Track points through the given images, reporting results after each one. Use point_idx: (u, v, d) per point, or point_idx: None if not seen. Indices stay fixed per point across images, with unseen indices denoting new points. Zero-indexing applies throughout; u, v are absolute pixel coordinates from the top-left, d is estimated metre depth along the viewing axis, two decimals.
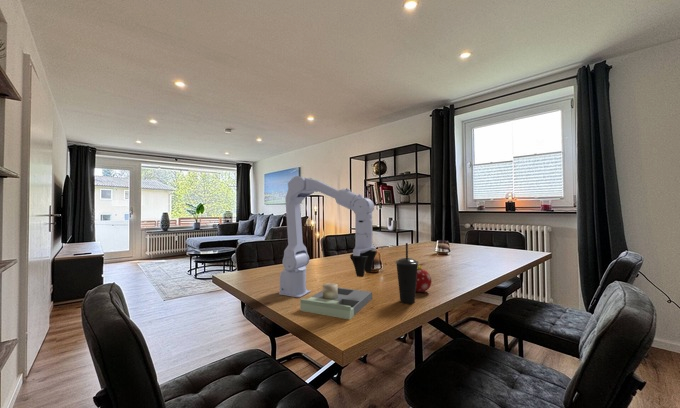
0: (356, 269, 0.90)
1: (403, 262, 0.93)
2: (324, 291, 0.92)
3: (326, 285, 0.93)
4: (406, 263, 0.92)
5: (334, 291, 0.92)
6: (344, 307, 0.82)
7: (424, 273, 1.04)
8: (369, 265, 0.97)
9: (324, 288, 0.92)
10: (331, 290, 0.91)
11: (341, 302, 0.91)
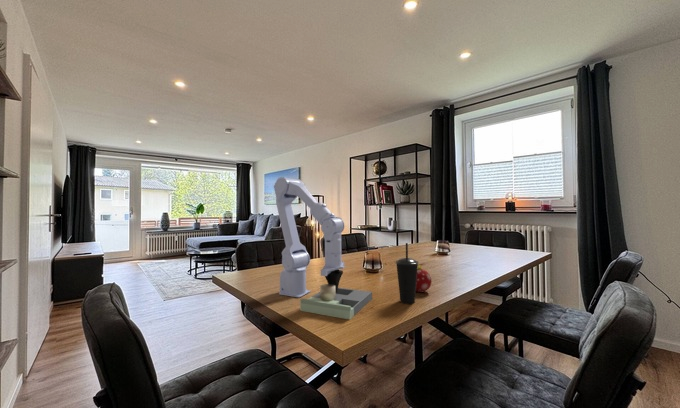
0: None
1: (403, 262, 0.93)
2: (321, 292, 0.91)
3: (324, 286, 0.92)
4: (406, 263, 0.92)
5: (331, 292, 0.90)
6: (344, 307, 0.82)
7: (424, 273, 1.04)
8: (335, 286, 0.96)
9: (321, 289, 0.91)
10: (328, 291, 0.90)
11: (341, 302, 0.91)
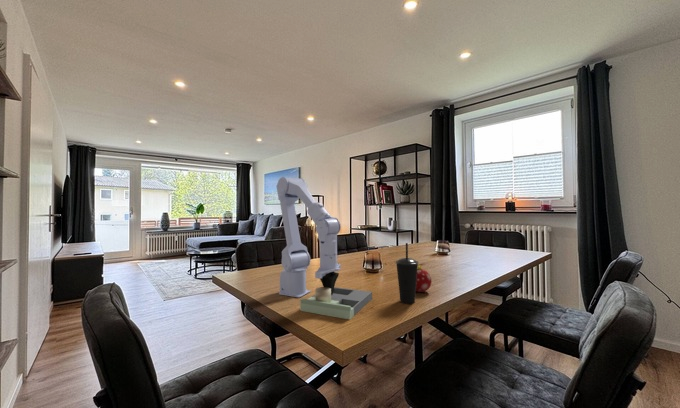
0: None
1: (403, 262, 0.93)
2: (317, 295, 0.88)
3: (319, 289, 0.89)
4: (406, 263, 0.92)
5: (327, 296, 0.87)
6: (344, 307, 0.82)
7: (424, 273, 1.04)
8: None
9: (317, 292, 0.88)
10: (324, 294, 0.87)
11: (341, 302, 0.91)
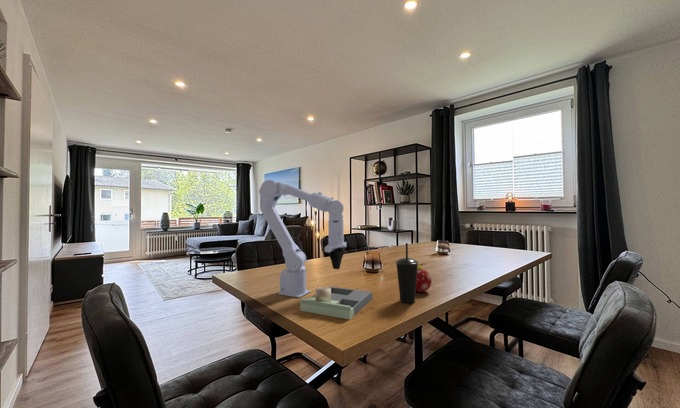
0: (332, 262, 1.04)
1: (403, 262, 0.93)
2: (317, 295, 0.88)
3: (319, 289, 0.89)
4: (406, 263, 0.92)
5: (327, 296, 0.87)
6: (344, 307, 0.82)
7: (424, 273, 1.04)
8: None
9: (317, 292, 0.88)
10: (324, 294, 0.87)
11: (341, 302, 0.91)
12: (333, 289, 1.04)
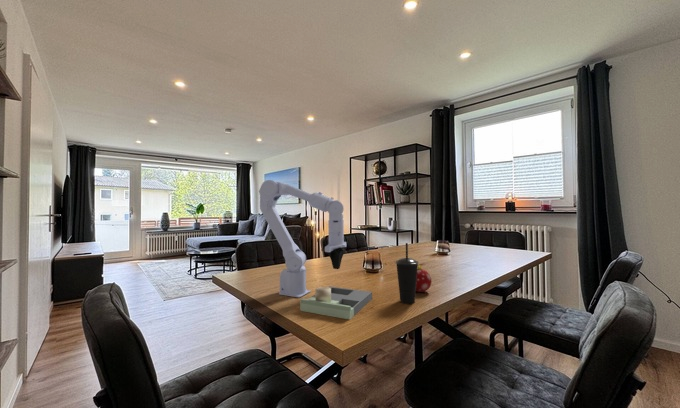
0: (332, 262, 1.05)
1: (403, 262, 0.93)
2: (317, 295, 0.88)
3: (319, 289, 0.89)
4: (406, 263, 0.92)
5: (327, 296, 0.87)
6: (344, 307, 0.82)
7: (424, 273, 1.04)
8: None
9: (317, 292, 0.88)
10: (324, 294, 0.87)
11: (341, 302, 0.91)
12: (333, 289, 1.04)
